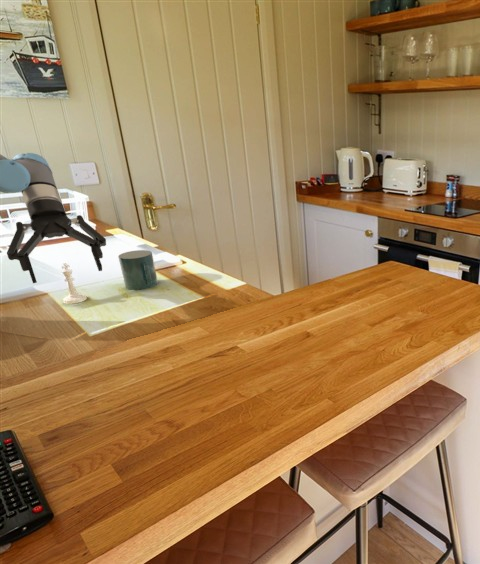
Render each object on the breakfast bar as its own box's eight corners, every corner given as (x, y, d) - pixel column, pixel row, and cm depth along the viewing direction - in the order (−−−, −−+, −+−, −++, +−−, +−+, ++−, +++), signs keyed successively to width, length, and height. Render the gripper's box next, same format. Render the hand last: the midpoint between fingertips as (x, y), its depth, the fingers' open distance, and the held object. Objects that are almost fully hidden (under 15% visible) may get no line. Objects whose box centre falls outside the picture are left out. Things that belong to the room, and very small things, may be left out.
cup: (120, 285, 119) (113, 254, 116) (150, 277, 125) (144, 248, 122) (136, 294, 113) (129, 262, 110) (166, 285, 119) (160, 255, 116)
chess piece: (58, 302, 107) (47, 265, 104) (76, 295, 112) (66, 259, 108) (74, 304, 106) (63, 267, 103) (91, 297, 111) (82, 261, 107)
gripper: (101, 208, 123) (124, 270, 118) (-16, 220, 107) (6, 293, 102) (100, 192, 117) (125, 256, 112) (-23, 203, 101) (-1, 278, 96)
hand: (68, 274), depth 107 cm, fingers open, 13 cm apart
